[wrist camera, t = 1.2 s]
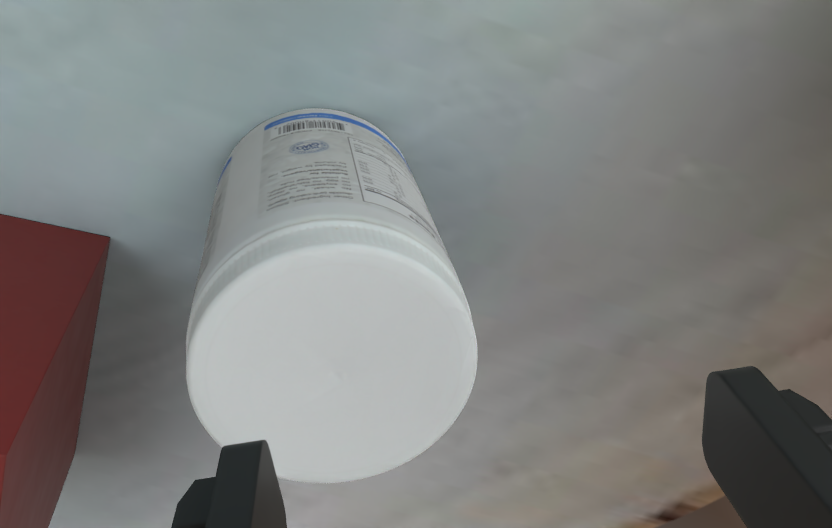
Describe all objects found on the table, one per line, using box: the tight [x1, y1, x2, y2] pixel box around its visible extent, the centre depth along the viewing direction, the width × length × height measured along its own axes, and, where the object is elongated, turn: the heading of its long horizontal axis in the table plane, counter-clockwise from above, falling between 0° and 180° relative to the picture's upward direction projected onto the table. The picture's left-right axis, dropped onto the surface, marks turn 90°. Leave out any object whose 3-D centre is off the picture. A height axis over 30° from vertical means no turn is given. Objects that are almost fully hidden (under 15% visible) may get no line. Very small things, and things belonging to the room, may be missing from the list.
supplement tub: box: [186, 108, 478, 483], centre depth 30 cm, size 10×10×15 cm
